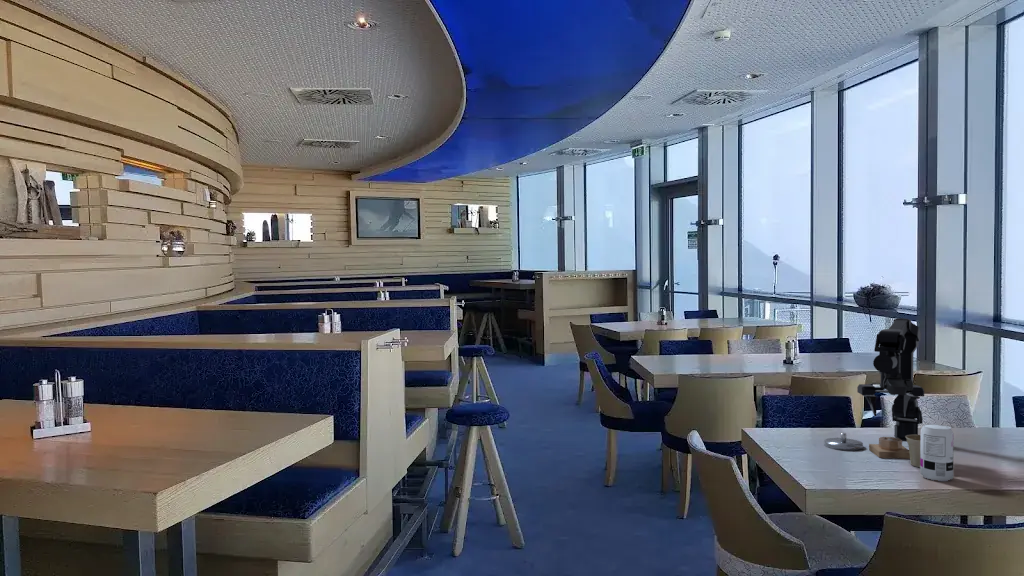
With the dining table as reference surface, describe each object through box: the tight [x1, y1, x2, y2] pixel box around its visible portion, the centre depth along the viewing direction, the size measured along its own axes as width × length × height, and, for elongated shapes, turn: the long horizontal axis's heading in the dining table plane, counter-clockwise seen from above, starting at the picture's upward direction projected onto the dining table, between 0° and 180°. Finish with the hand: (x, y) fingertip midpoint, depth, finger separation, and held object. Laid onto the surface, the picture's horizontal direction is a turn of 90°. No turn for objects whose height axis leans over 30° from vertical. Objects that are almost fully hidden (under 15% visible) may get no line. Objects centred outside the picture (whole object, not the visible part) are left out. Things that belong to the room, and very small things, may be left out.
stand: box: [868, 439, 910, 460], centre depth 232 cm, size 10×10×5 cm
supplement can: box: [919, 423, 955, 482], centre depth 205 cm, size 8×8×15 cm
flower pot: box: [905, 434, 921, 468], centre depth 218 cm, size 9×9×9 cm
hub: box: [823, 432, 864, 452], centre depth 243 cm, size 12×12×4 cm
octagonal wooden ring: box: [878, 436, 903, 451], centre depth 232 cm, size 6×6×3 cm
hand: (890, 416), depth 231 cm, fingers open, 9 cm apart
